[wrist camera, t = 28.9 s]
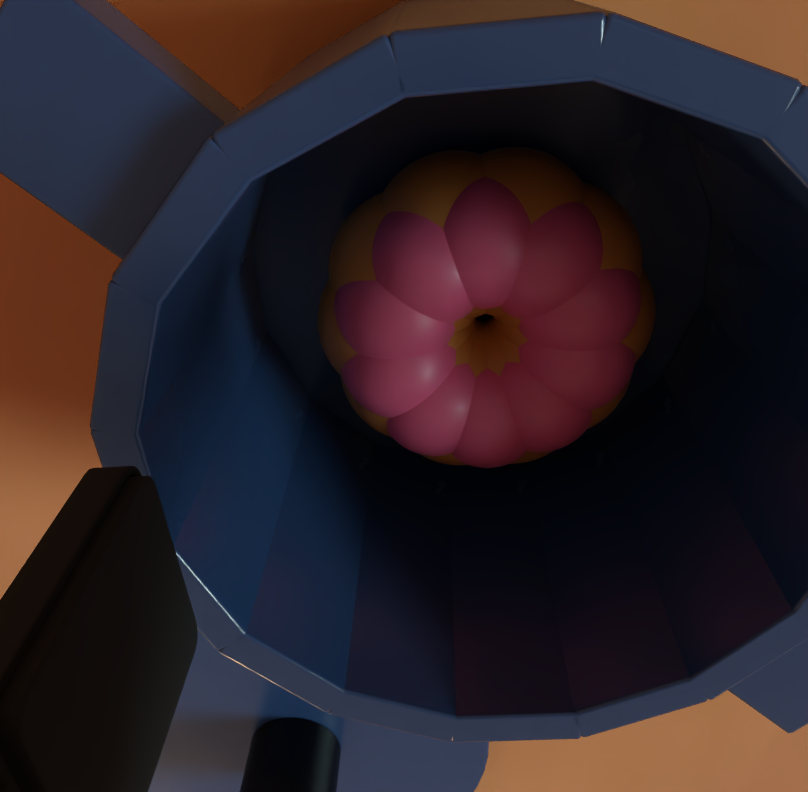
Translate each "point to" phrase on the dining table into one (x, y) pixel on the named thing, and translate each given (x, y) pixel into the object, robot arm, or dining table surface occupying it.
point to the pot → (383, 456)
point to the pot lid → (294, 742)
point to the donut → (486, 306)
